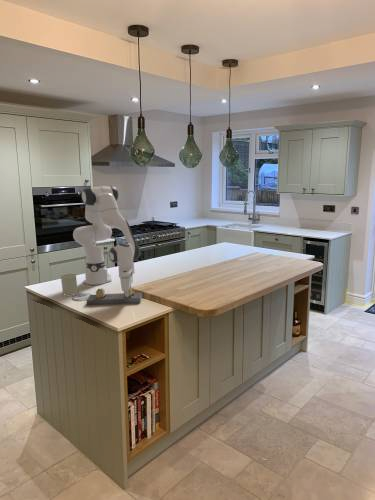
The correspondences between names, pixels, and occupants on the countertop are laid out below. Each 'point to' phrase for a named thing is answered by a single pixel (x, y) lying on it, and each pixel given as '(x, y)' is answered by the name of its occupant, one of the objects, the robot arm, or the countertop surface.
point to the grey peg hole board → (114, 299)
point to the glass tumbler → (69, 284)
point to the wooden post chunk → (129, 293)
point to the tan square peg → (100, 293)
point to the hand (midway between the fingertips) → (128, 293)
